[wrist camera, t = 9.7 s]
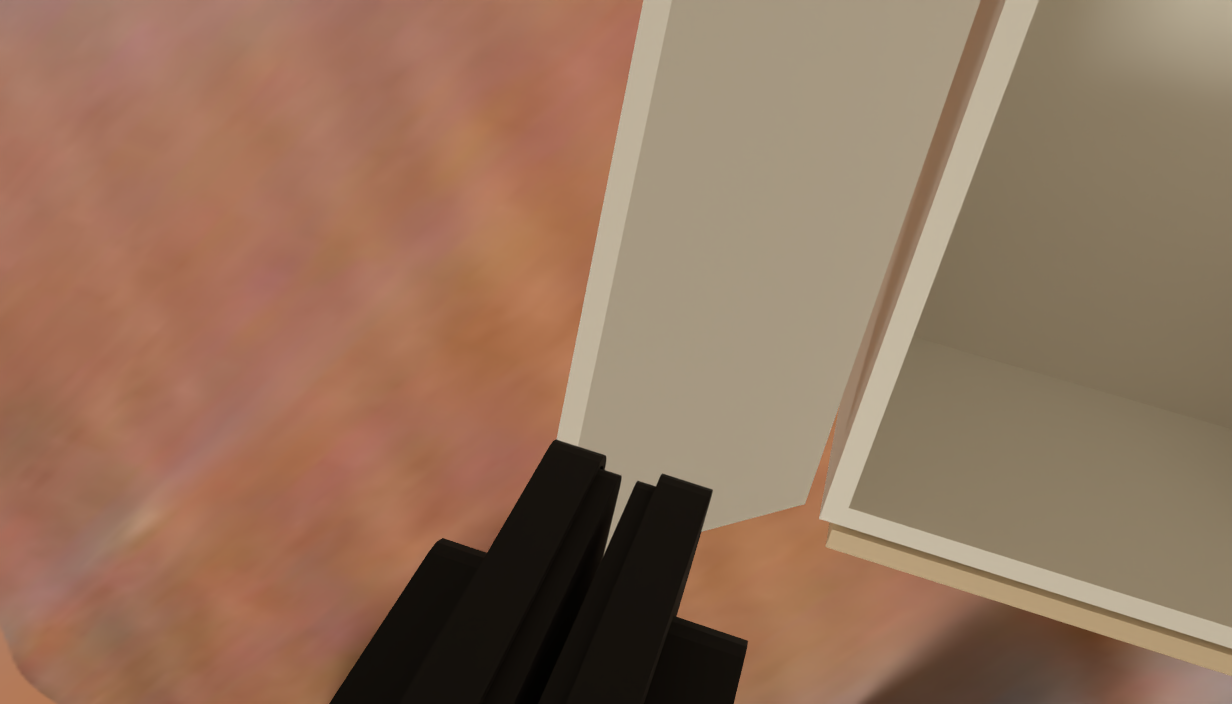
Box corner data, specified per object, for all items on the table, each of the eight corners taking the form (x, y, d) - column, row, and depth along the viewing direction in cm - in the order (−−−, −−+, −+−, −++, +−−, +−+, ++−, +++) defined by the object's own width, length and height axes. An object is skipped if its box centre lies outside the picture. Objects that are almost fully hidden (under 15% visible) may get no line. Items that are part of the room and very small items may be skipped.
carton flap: (771, -472, 16) (738, -475, 16) (551, 571, 26) (535, 548, 26) (1109, -369, 20) (1072, -373, 20) (805, 503, 29) (785, 484, 30)
